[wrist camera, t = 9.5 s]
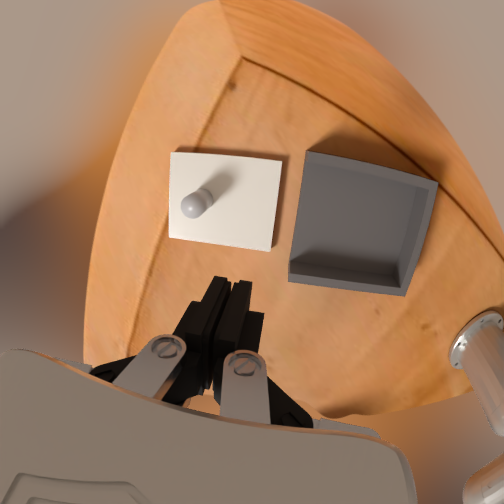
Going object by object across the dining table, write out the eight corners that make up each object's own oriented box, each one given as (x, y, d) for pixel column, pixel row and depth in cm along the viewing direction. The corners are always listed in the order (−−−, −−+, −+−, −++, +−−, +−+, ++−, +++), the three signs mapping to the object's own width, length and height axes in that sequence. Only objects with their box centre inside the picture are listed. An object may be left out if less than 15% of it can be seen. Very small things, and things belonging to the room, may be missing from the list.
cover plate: (282, 160, 28) (281, 164, 23) (271, 246, 32) (267, 265, 27) (176, 151, 29) (156, 154, 24) (173, 233, 33) (156, 248, 28)
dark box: (421, 176, 25) (438, 182, 22) (394, 279, 31) (404, 296, 27) (305, 150, 26) (308, 151, 23) (288, 265, 32) (288, 281, 28)
